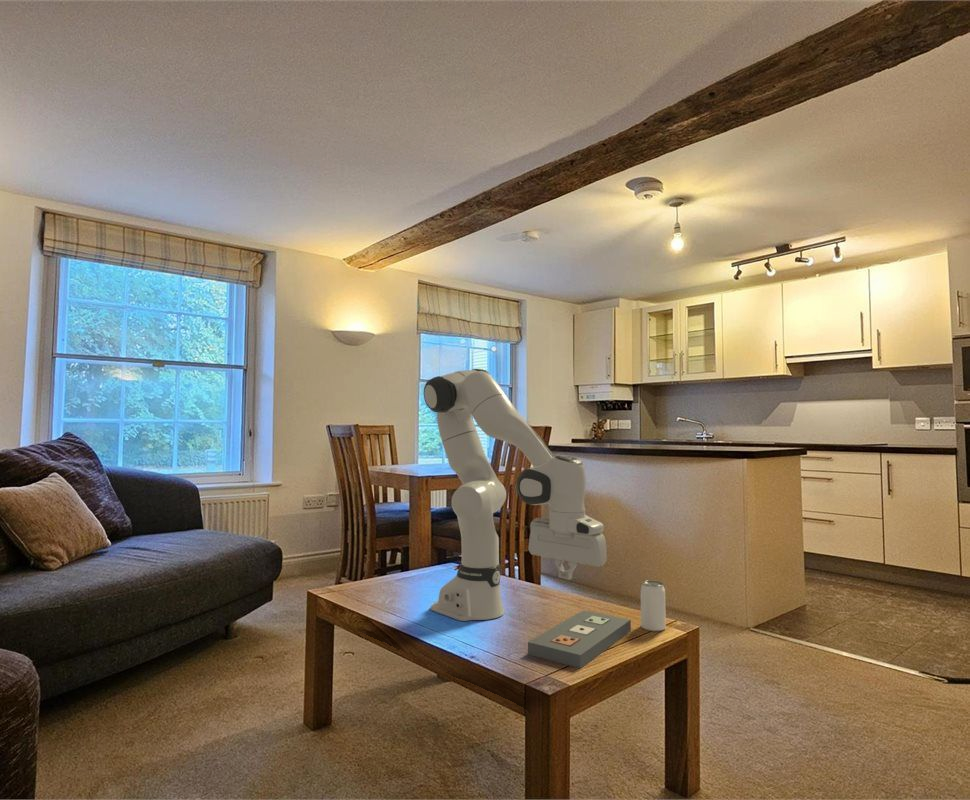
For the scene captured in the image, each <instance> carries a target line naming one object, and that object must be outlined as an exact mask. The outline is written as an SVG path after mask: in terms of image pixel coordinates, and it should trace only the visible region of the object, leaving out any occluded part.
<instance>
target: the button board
mask: <svg viewBox="0 0 970 800" xmlns="http://www.w3.org/2000/svg"><path fill="white" fill-rule="evenodd" d="M591 616H596V617H601V618H606V619H610V621H609V622H607V623H606V624H604V625H603V626H602V625H597V624H592V623H588V622H584V621H585V620H586V619H588V618H590V617H591ZM631 624H632V621H631V619H629V618H626V617H625V618H624V617H619V616H615V615H608V614H605V613H604V614H603V613H599V612H595V611H588V610H586V609H585V610H581V611H580V612H578V613H576V614H574V615H573V616H571V617H569V618H567V619H566V620H564V621H562V622H560V623H559V624H557V625H555V626H553V627H551V628H549V629H548V630H546V631H545V632H543V633H541V634H539V635H537V636H536V637H534V638H533V639H531V640H529V641H527V655H528V656H532V657H535V658H539V659H544V660H547V661H550V662H554V663H559V664H562V665H565V666H570V667H573V668H577V669H582V668H583V667H585V666H586V665H587V664H589V663H590V662H591V661H593V660H595V658H597V657H598V656H599V655H601V654H602V653H603V652H605V651H606V650H607V649H608V648H611V647H612V646H613V645H614V644H616V643H617V642H619V639H620V640H621V639H622V638H624V637H625V636H627V633H628V632H629V633H630V632H631V631H632V625H631ZM577 625H581V626H585V627H590V628H595V631H594V632H592V633H591V634H589V635H588V636H586V635H582V634H578V633H573V632H569V630H570V629H572V628H573V627H575V626H577ZM629 633H628V634H629ZM560 635H564V636H569V637H573V638H577V639H579V641H578V642H577V643H575V644H574V645H572V646H571V647H569V646H565V645H561V644H557V643H553V642H551V641H552V640H553V639H555V638H557V637H558V636H560ZM624 635H625V636H624ZM623 636H624V637H623ZM615 642H616V643H615Z"/></svg>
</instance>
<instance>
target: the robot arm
mask: <svg viewBox="0 0 970 800" xmlns="http://www.w3.org/2000/svg"><path fill="white" fill-rule="evenodd" d="M423 399H424V402H425V404H426V406H427V407H428V408H429V409H430V411H432V412H435V413H436V422H437V428H438V432H439V435H440V436H439V437H440V440H441V443H442V446H443V449H444V452H445V454H446V458H447V460H448V465H449V467H450V468H451V470H452V471H453V472H454V473H455V474H456V475H457V477H458V479H459V480H460V481H461V482H460V483H461V485H460V486H459V487H458V488H457V489H456V490H455V491H454V492H453V494H452V497H451V508H452V510H453V512H454V513H455V515H456V517H457V523H458V527H459V531H460V540H461V562H460V563H458V565H455V566H453V567H454V569H453V570H454V571H456V570H457V572H456V575H455V576H454V577H453V578H452V579H450V580H449V581H448V582H446V583H445V584H444V585H442V587H441V588H440V591H439V594H438V600H437V601H434V603H432V604H431V605H430V610H431V611H433V612H435V613H438V614H441V615H443V616H446V617H449V618H452V619H454V620H456V621H457V620H458V621H459V622H467V621H482V620H483V621H484V620H485V621H486V620H492V619H497V618H500V617H502V616H503V615H504V614H505V609H504V605H503V601H502V600H503V599H502V594H501V587H500V586H501V584H500V583H501V564H500V552H499V551H500V547H499V546H500V538H499V535H498V533H497V531H496V525H495V522H494V521H495V520H494V513H496V512H498V511H500V509H501V508H502V506H504V504H505V502H506V499H507V490H506V487H505V486H504V484H502V482H501V481H500V480H499V478H498V476H497V475H496V473H495V471H494V469H493V467H492V465H491V464H490V462H489V459H488V458H487V456H486V454H485V451H484V448H483V446H482V442H481V440H480V436H479V433H478V431H477V428H476V426H475V423H476V425H477V426H478V427H479V428H480V429H481V431H482V432H483V433H484V434H485V435H486V436H488V437H491V438H492V439H496V440H500V441H503V442H505V443H508V444H510V445H513V446H515V447H516V448H518V449H519V450H520V451H521V452H522V453H523V454H524V456H525V457H526V459H527V460H528V461H529V462H530V464H531V465H532V467H529V468H526V469H523V470H522V471H521V472H520V473H519V474H518V477H517V479H516V484H515V487H516V488H515V489H516V492H517V495H518V497H519V499H520V500H521V501H522V502H524V504H527V505H532V506H538V505H548V507H549V512H548V513H549V514H548V515H549V516H548V517H549V518H540V517H535V518H534V519H532V520H531V522H530V525H529V529H530V534H529V541H528V548H527V550H528V551H529V553H530V554H531V555H533V556H539V557H544V558H548V559H549V558H550V559H554V565H555V566H556V569H557V571H558V578H559V579H564V580H568V581H570V580H572V579H573V577H574V576H573V573H574V571H575V569H576V567H577V565H578V564H581V565H587V566H592V567H593V566H594V567H598V568H599V567H602V566H603V565H605V563H606V562H607V559H608V556H607V555H608V552H607V550H608V549H607V541H606V537H605V535H604V534H603V533H602V532H604V530H605V525H604V524H603V523H602V522H600V521H599V520H596V519H595V518H592V517H591V516H588V515H587V514H586V507H585V497H586V494H587V493H586V490H587V484H586V483H587V482H586V477H587V476H586V469H585V465H584V463H583V461H581V460H580V459H578V458H576V457H573V456H569V455H568V456H567V455H559V454H558V455H554V454H553V453H552V451H551V450H550V449H549V448H548V446H547V445H546V443H545V442H544V441H543V440H542V438H541V437H540V436H539V434H538V433H537V432H536V431H535V430H534V428H533V427H532V426H531V425H530V424H529V422H528V421H526V419H524V417H523V416H522V415H521V413H520V412H519V411H518V410H517V409H516V407H515V406H514V404H513V403H512V402H511V400H510V398H509V397H508V395H507V394H506V392H505V391H504V389H503V388H502V387H501V385H499V383H498V382H497V380H495V378H493V377H492V375H491V374H490V373H489V371H487V370H485V369H483V368H473V369H466V370H458V371H455V372H452V373H451V372H450V373H448V374H442V375H440V376H439V375H436V376H434V377H432V378H429V380H427V381H426V382H425V384H424V388H423ZM473 420H474V421H475V423H474V421H473ZM564 562H567V563H568V564H567V565H568V566H569V568H568V569H565V567H564V565H563V563H564Z"/></svg>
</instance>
